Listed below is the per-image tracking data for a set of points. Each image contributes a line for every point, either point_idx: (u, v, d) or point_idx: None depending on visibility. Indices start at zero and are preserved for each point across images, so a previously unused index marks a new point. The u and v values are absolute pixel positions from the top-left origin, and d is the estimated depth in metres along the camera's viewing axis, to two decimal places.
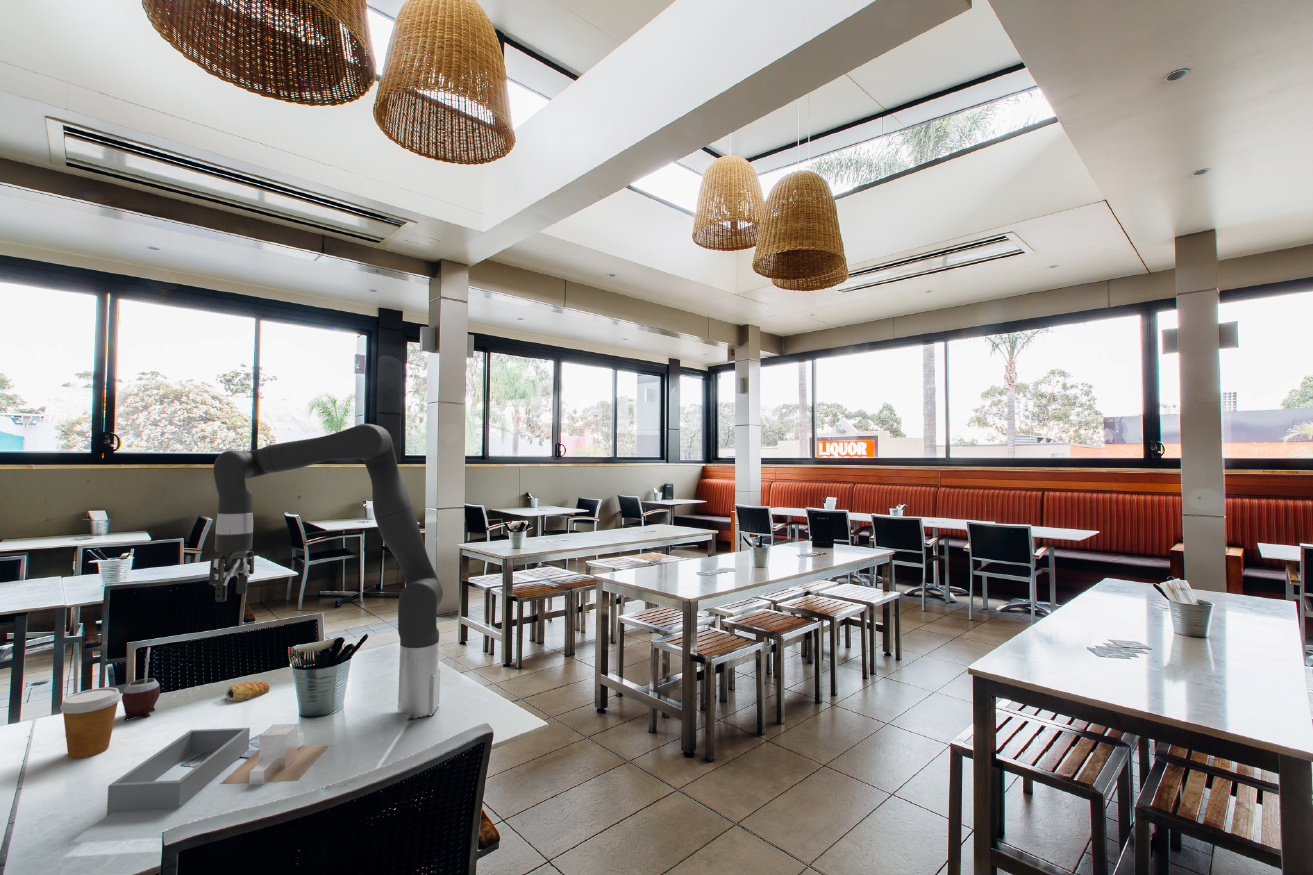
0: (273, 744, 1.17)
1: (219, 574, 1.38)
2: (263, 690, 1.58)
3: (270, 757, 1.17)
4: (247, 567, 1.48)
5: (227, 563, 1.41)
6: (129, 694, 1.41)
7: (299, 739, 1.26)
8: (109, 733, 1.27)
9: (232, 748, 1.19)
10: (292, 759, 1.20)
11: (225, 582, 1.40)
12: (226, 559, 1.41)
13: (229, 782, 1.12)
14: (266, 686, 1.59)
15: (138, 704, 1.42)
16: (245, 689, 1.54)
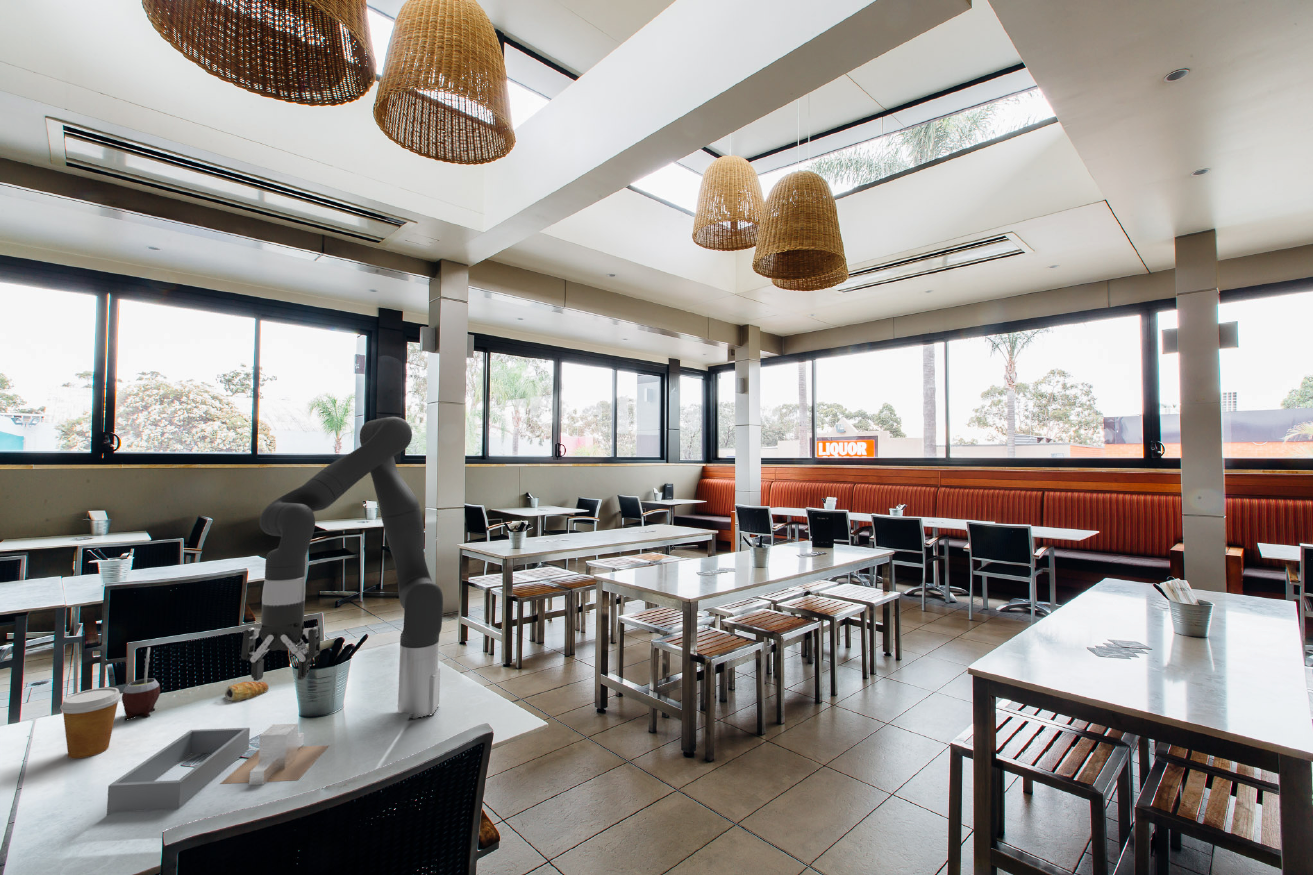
0: (273, 744, 1.17)
1: (319, 643, 1.23)
2: (262, 690, 1.58)
3: (270, 757, 1.17)
4: None
5: None
6: (129, 694, 1.41)
7: (299, 739, 1.26)
8: (109, 733, 1.27)
9: (232, 748, 1.19)
10: (292, 759, 1.20)
11: None
12: None
13: (229, 782, 1.12)
14: (265, 686, 1.59)
15: (138, 704, 1.42)
16: (244, 689, 1.55)
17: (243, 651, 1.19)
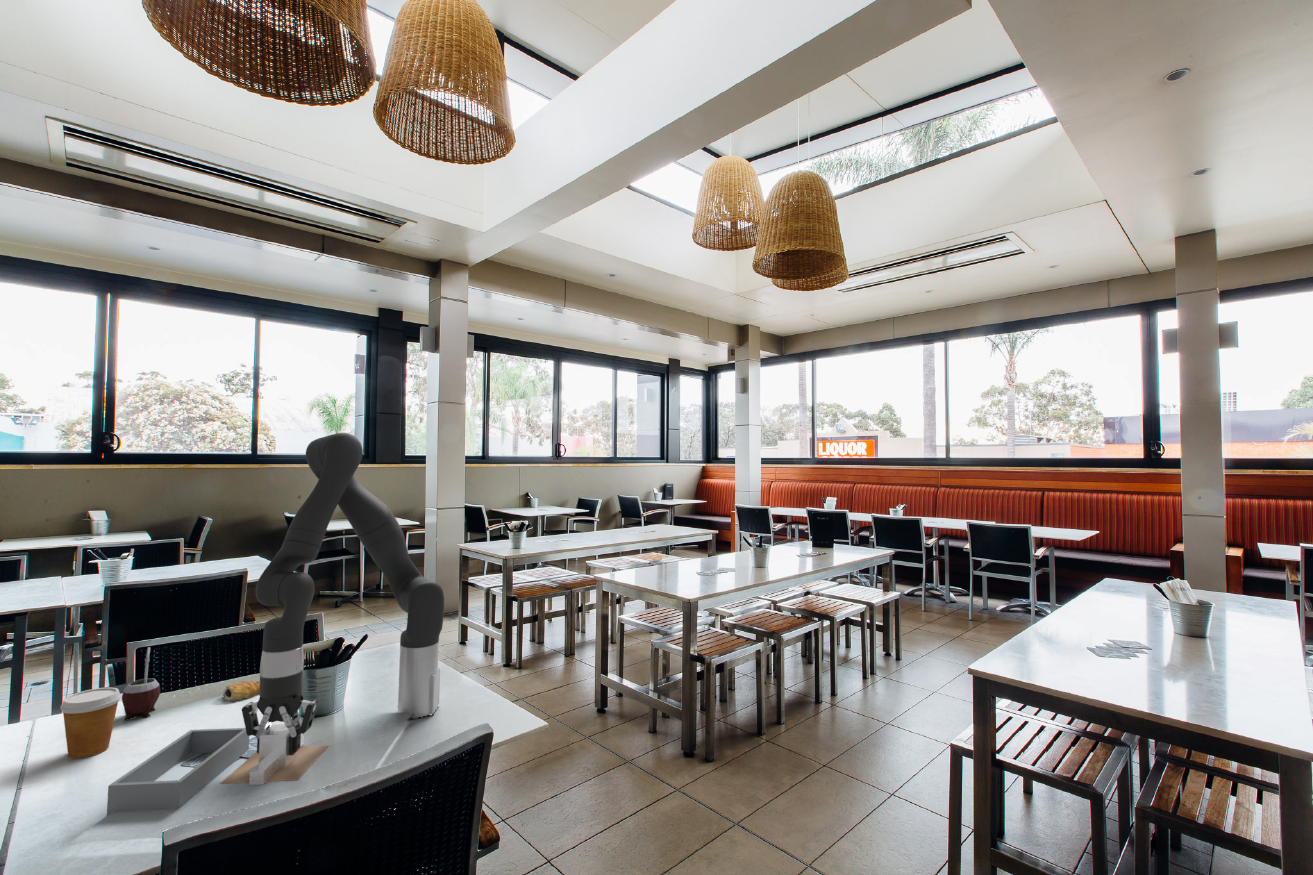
0: (273, 744, 1.17)
1: (313, 717, 1.22)
2: None
3: (270, 757, 1.17)
4: None
5: None
6: (129, 694, 1.41)
7: None
8: (109, 733, 1.27)
9: (232, 748, 1.19)
10: (292, 759, 1.20)
11: None
12: (303, 700, 1.21)
13: (229, 782, 1.12)
14: None
15: (138, 704, 1.42)
16: (243, 689, 1.55)
17: (247, 728, 1.18)
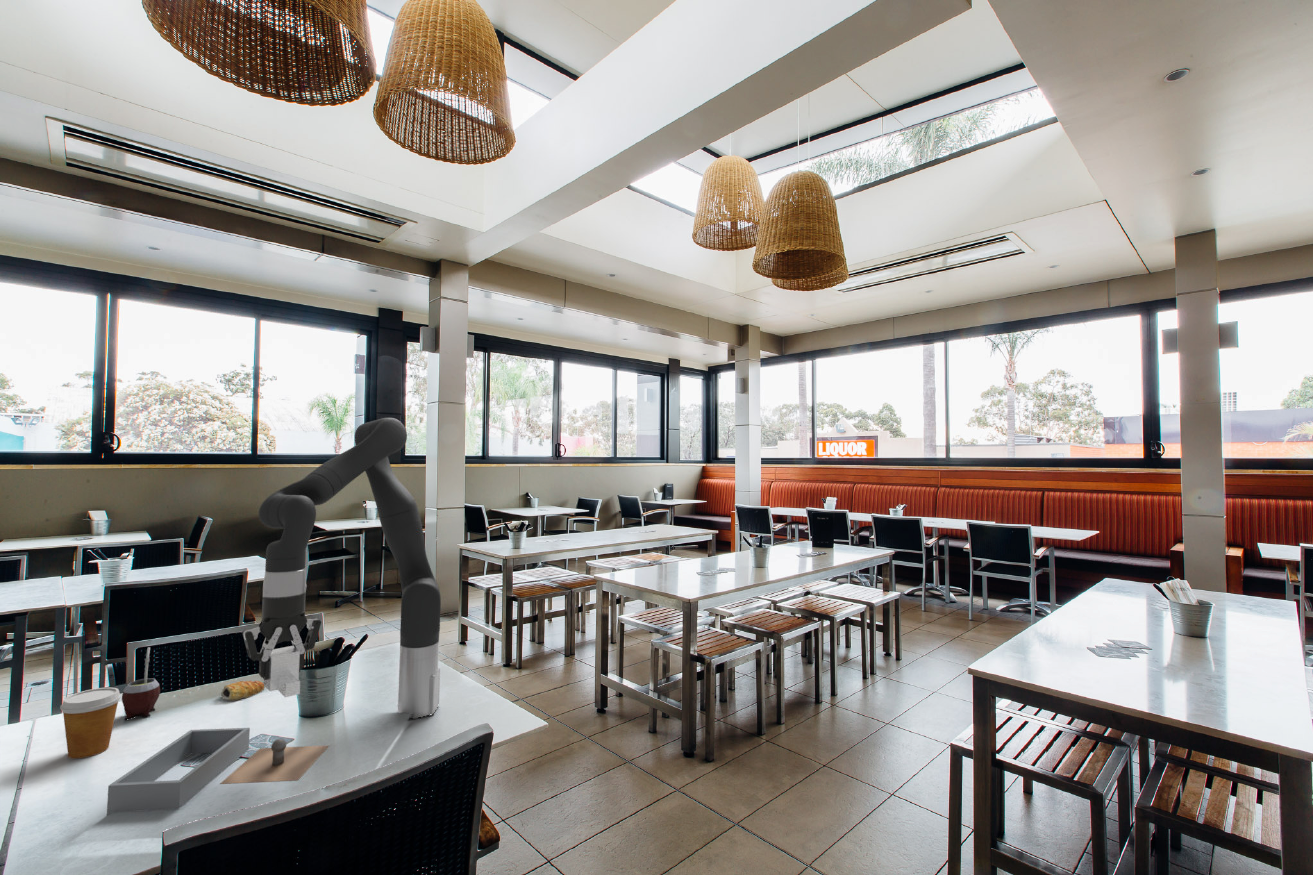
0: (286, 663, 1.19)
1: None
2: (259, 689, 1.59)
3: (284, 675, 1.18)
4: None
5: None
6: (129, 694, 1.41)
7: None
8: (109, 733, 1.27)
9: (232, 748, 1.19)
10: None
11: None
12: None
13: (229, 782, 1.12)
14: (261, 685, 1.60)
15: (138, 704, 1.42)
16: (241, 688, 1.55)
17: (252, 653, 1.16)
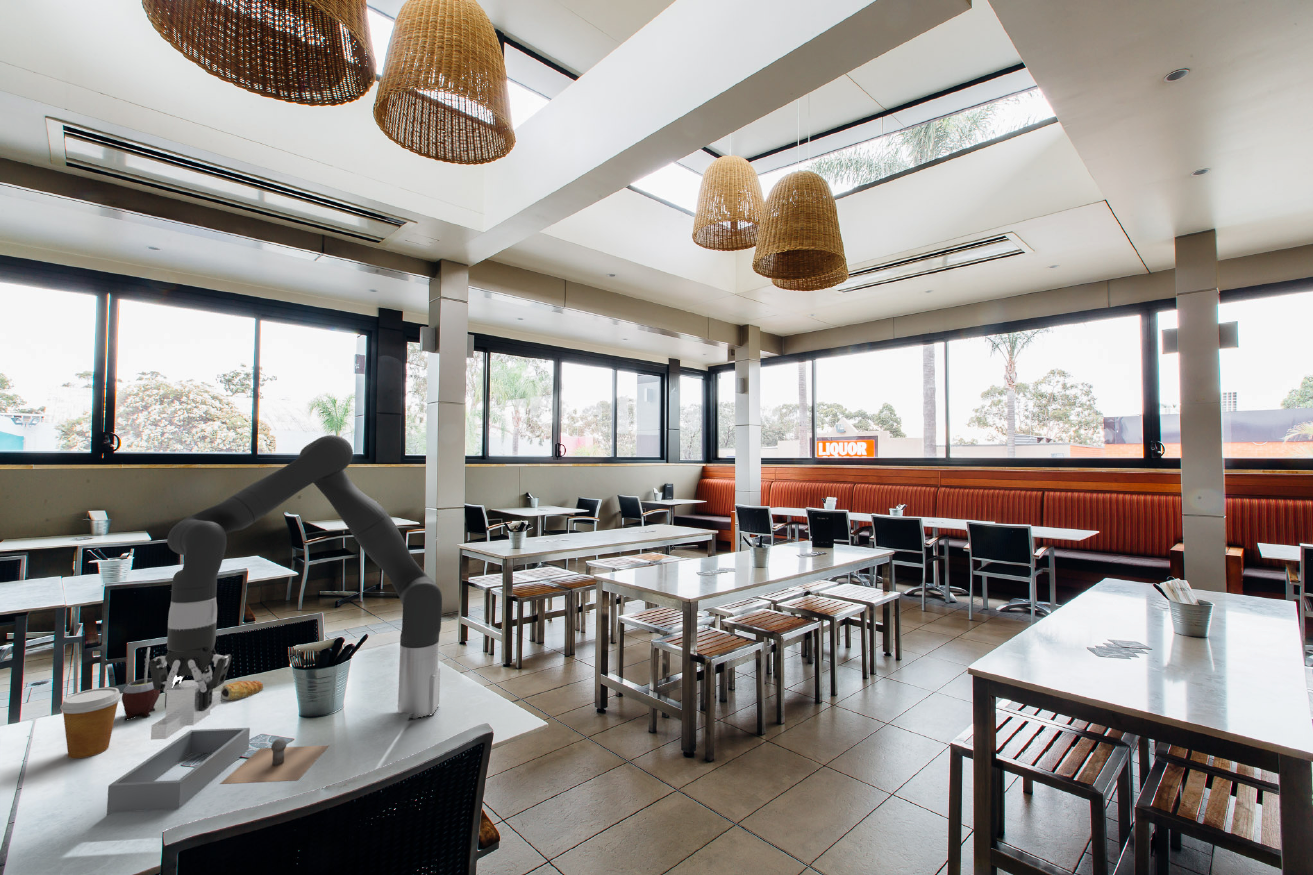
0: (181, 699, 1.12)
1: (226, 673, 1.16)
2: (258, 689, 1.59)
3: (177, 712, 1.12)
4: None
5: None
6: (129, 694, 1.41)
7: (215, 697, 1.21)
8: (109, 733, 1.27)
9: (232, 748, 1.19)
10: (203, 716, 1.15)
11: None
12: None
13: (229, 782, 1.12)
14: (260, 684, 1.60)
15: (138, 704, 1.42)
16: (240, 688, 1.55)
17: (154, 682, 1.13)
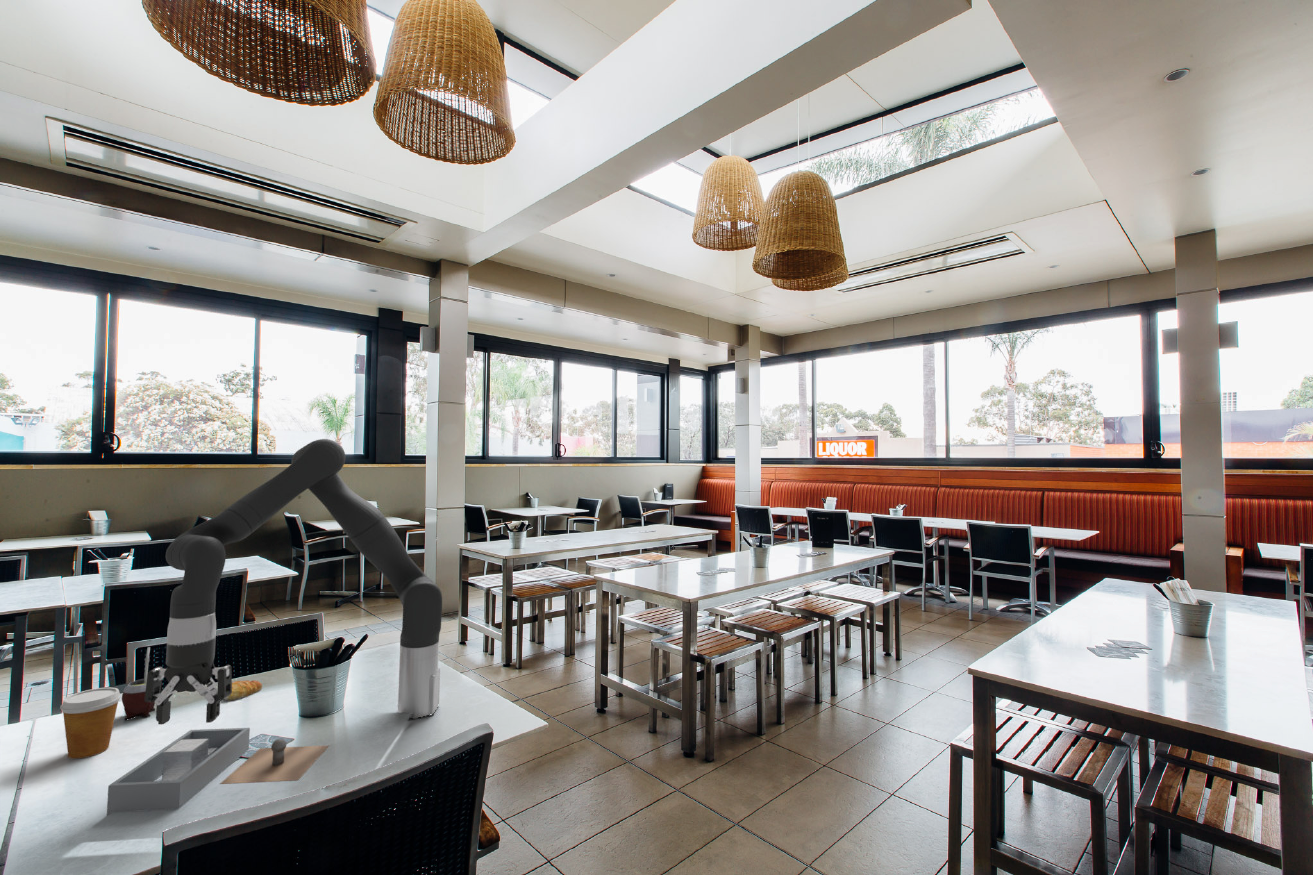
0: (177, 761, 1.12)
1: (230, 682, 1.16)
2: (256, 688, 1.59)
3: (174, 775, 1.11)
4: None
5: None
6: (129, 694, 1.41)
7: (211, 754, 1.20)
8: (109, 733, 1.27)
9: (232, 748, 1.19)
10: None
11: None
12: (215, 668, 1.16)
13: (229, 782, 1.12)
14: (259, 684, 1.60)
15: (138, 704, 1.42)
16: (239, 688, 1.55)
17: (147, 693, 1.13)
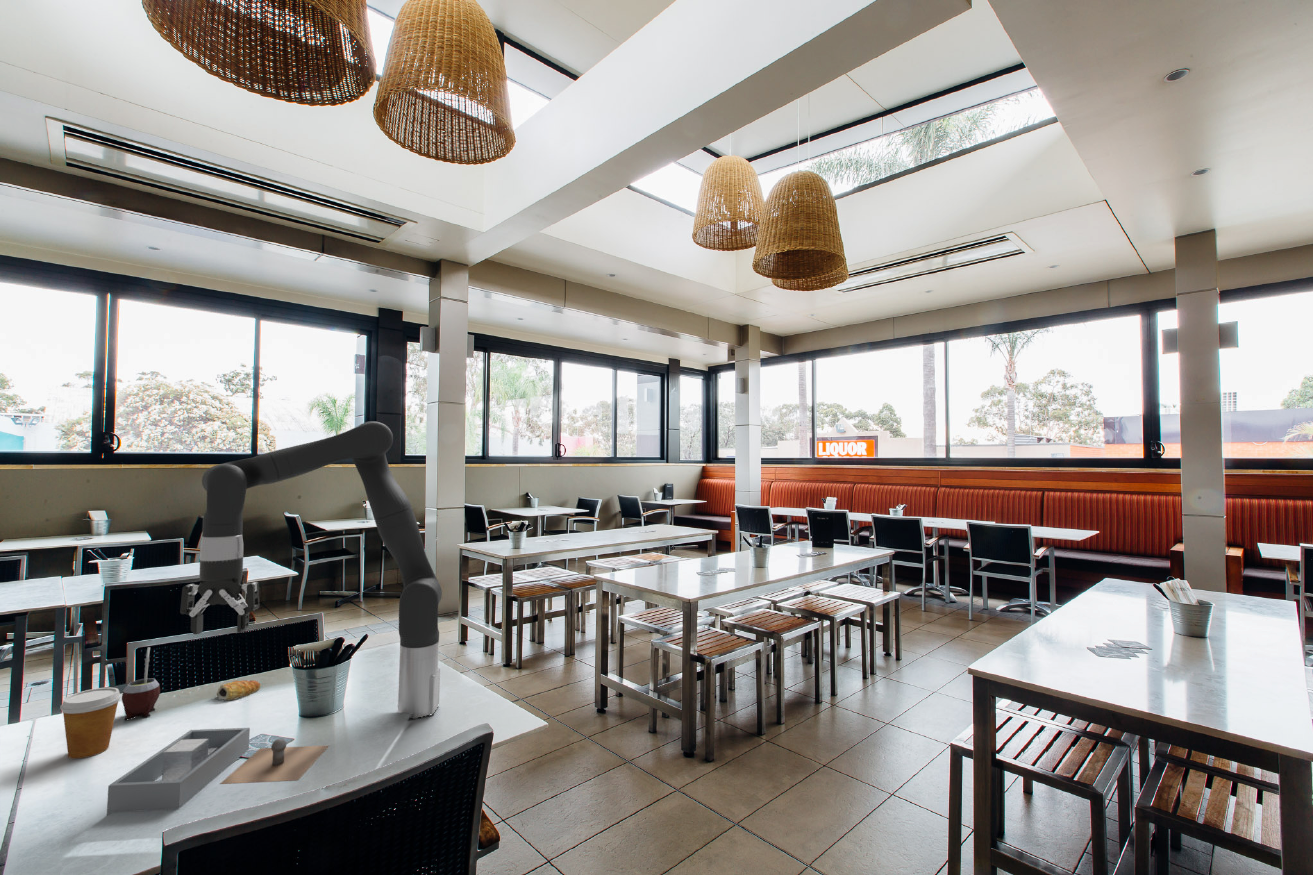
0: (177, 761, 1.12)
1: (258, 597, 1.28)
2: (255, 688, 1.59)
3: (174, 775, 1.11)
4: None
5: None
6: (129, 694, 1.41)
7: (211, 754, 1.20)
8: (109, 733, 1.27)
9: (232, 748, 1.19)
10: None
11: None
12: None
13: (229, 782, 1.12)
14: (257, 684, 1.60)
15: (138, 704, 1.42)
16: (238, 688, 1.55)
17: (182, 606, 1.24)
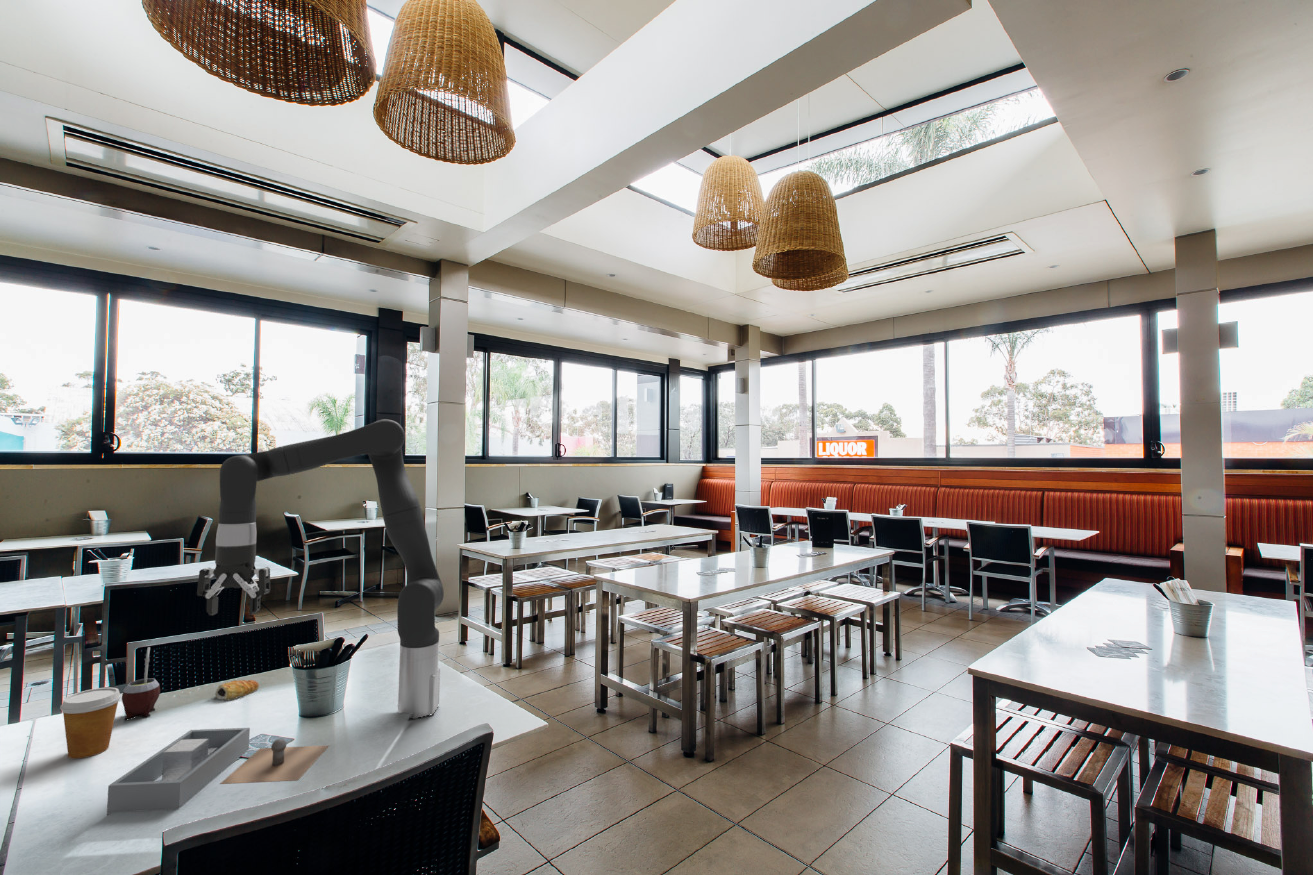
0: (177, 761, 1.12)
1: (269, 582, 1.35)
2: (254, 688, 1.60)
3: (174, 775, 1.11)
4: None
5: None
6: (129, 694, 1.41)
7: (211, 754, 1.20)
8: (109, 733, 1.27)
9: (232, 748, 1.19)
10: None
11: None
12: (256, 569, 1.35)
13: (229, 782, 1.12)
14: (256, 684, 1.61)
15: (138, 704, 1.42)
16: (237, 687, 1.56)
17: (199, 588, 1.32)
